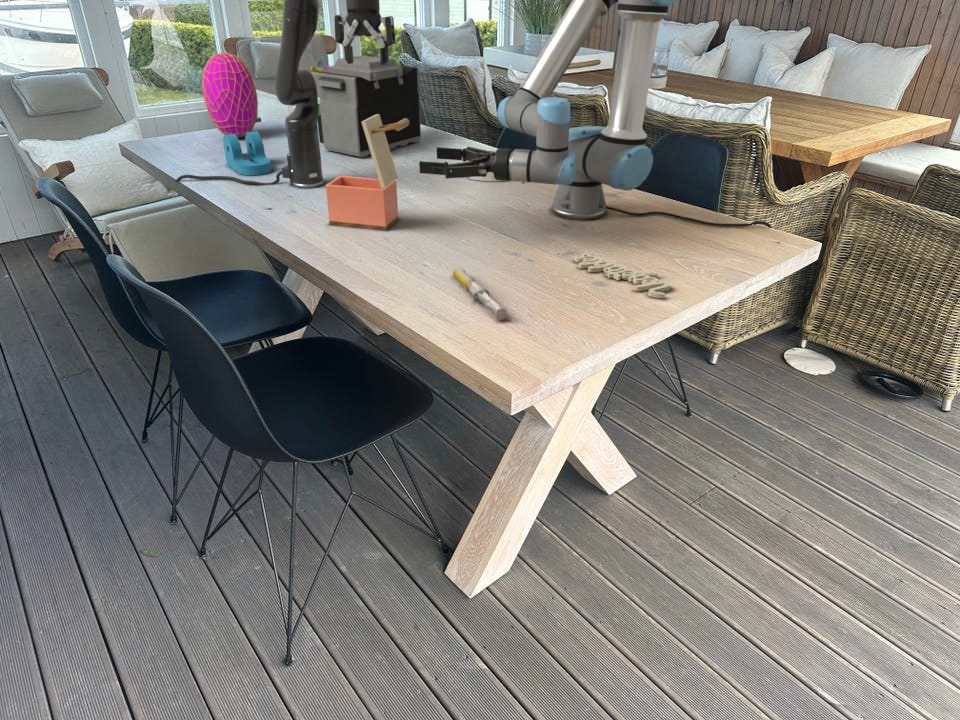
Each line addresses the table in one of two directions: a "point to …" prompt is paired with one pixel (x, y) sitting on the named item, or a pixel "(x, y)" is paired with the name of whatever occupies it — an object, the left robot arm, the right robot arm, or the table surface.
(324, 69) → the potted flower
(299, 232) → the table surface
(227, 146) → the camera mount
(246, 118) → the decorative egg
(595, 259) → the decorative sign
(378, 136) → the lid
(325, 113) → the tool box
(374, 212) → the chest
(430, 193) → the table surface
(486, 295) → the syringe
